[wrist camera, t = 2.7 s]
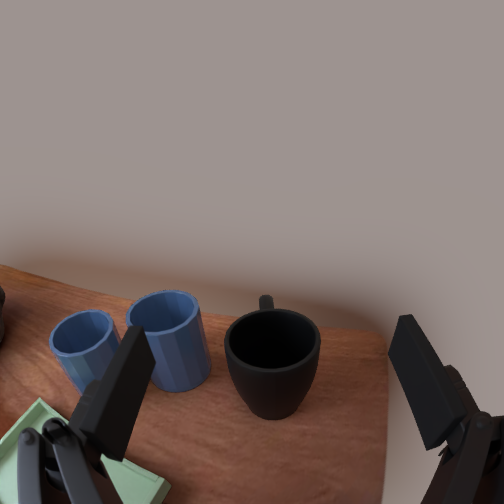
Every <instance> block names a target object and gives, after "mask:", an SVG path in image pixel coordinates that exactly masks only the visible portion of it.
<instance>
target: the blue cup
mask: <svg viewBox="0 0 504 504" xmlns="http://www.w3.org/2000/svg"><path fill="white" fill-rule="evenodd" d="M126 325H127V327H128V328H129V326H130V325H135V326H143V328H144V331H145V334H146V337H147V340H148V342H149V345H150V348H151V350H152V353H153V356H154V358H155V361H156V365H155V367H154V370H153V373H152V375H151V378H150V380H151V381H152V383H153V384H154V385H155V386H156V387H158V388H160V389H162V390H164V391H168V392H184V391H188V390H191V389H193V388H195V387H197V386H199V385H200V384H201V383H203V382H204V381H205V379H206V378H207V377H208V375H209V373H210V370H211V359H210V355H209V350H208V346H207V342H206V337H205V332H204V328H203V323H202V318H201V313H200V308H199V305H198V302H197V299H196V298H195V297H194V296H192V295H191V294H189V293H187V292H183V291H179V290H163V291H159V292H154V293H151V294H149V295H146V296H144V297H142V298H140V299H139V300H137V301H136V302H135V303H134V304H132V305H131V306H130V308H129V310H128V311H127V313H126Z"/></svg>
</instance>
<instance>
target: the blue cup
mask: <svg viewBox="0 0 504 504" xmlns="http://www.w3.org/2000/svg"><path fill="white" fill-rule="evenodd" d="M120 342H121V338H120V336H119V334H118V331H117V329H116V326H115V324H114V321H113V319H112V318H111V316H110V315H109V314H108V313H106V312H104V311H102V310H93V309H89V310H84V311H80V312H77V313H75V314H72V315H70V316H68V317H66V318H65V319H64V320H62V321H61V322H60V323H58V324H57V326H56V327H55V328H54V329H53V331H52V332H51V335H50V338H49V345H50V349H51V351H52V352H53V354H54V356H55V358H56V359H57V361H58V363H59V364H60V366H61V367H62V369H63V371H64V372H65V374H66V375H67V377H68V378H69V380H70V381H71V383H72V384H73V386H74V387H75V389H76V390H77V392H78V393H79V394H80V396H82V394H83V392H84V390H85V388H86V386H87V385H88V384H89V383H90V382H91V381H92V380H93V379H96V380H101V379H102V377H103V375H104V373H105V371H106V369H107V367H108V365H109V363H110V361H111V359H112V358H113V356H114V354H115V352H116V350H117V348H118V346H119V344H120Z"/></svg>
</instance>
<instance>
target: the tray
mask: <svg viewBox="0 0 504 504" xmlns="http://www.w3.org/2000/svg"><path fill="white" fill-rule="evenodd" d="M53 417H58V418H61V419H62V420H64V421H65V423H66V424H68V422H69V421H67V420H66V419H65V418H63V417H62V416H61V415H60V414H58V413H57V412H56V411H55V410H53V409H52V408H51V407H50V406H49V405H47V404H46V403H45V402H44V401H43V400H42V399H41V398H38V399H37V400H36V402H35V403H34V404H33V405H32V406H31V407H30V408H29V409H28V410H27V411H26V412H25V413H24V414H23V416H22V417H21V418H20V419H19V420H18V421H17V422H16V423H15V424H14V425H13V427H12V428H11V429H10V430H9V431H8V432H7V433H6V434H5V435H4V437H3V438H2V439H1V440H0V504H18V489H17V450H18V437H19V434H20V433H21V431H22V430H23V429H25V428H28V427H31V428H34V429H35V430H37V431H38V432H39V433H40V434H42V426H43V424H44V423H45V422H46V420H48V419H50V418H53ZM100 459H101V460H102V461H103V463H104V466H105V468H106V470H107V472H108V474H109V476H110V478H111V480H112V482H113V484H114V486H115V488H116V490H117V492H118V494H119V496H120V498H121V500H122V501H123V503H124V504H161V503H162V501H163V500H164V498H165V496H166V495H167V493H168V491H169V490H170V488H171V486H172V485H171V484H169V483H168V482H167V481H166V480H165V479H164V478H162V477H159V476H158V475H155V474H153V473H151V472H149V471H147V470H145V469H143V468H141V467H140V466H138V465H136V464H134V463H132V462H130V461H128V460H127V459H125V458H123V462H118V461H114V460H111V459H108V458H107V457H105V456H104V455H103V454H102V455H101V458H100Z"/></svg>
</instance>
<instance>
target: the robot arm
mask: <svg viewBox="0 0 504 504" xmlns="http://www.w3.org/2000/svg"><path fill="white" fill-rule="evenodd" d="M388 355H389V358H390V360H391V362H392V364H393V366H394V369H395V371H396V373H397V376H398V378H399V381H400V383H401V385H402V388H403V390H404V392H405V395H406V397H407V400H408V402H409V405H410V407H411V410H412V413H413V415H414V418H415V420H416V423H417V426H418V428H419V431H420V434H421V437H422V440H423V442H424V445H425V448H426V450H430V449H433V448H436V447H438V446H440V445H441V444H442V443H443V442H444V441H445V440H446V441H447V444H448V445H447V446H446V447H445V448H444V449H443V450H442V451H441V452H440V453H439V455H438V456H441V455H442V454H443V455H442V458H441V461H440V463H439V465H438V468H437V470H436V472H435V475H434V477H433V479H432V481H431V484H430V486H429V488H428V490H427V492H426V494H425V496H424V498H423V500H422V502H421V504H504V416H496V417H491V416H490V414H488V413H486V412H483V411H480V410H479V408H478V406H477V405H476V403H475V401H474V399H473V397H472V395H471V393H470V392H469V390H468V388H467V387H466V384H465V382H464V381H463V380H462V377H461V375H460V374H459V372H458V371H457V370H456V369H455V368H454V367H452V366H451V365H447V366H443V364H442V362H441V361H440V359H439V357H438V356H437V354H436V352H435V350H434V349H433V347H432V345H431V344H430V342H429V341H428V339H427V337H426V336H425V334H424V333H423V331H422V329H421V328H420V326H419V325H418V323H417V321H416V320H415V319H414V317H413V315H412V314H409V315H402V316H399V319H398V323H397V326H396V330H395V333H394V336H393V339H392V342H391V346H390V349H389V352H388ZM155 365H156V361H155V358H154V356H153V353H152V350H151V348H150V345H149V342H148V340H147V337H146V334H145V331H144V328H143V326H135V325H130V326H129V328H128V330H127V331H126V333H125V335H124V337H123V339H122V341H121V342H120V344H119V346H118V348H117V350H116V352H115V354H114V356H113V358H112V359H111V361H110V363H109V365H108V367H107V369H106V371H105V373H104V375H103V377H102V379H101V380H96V379H93V380H92V381H91V382H90V383H89V384H88V385H87V386H86V388H85V390H84V392H83V394H82V396H81V398H80V400H79V403H78V404H77V406H76V408H75V410H74V412H73V414H72V416H71V418H70V420H69V422H68V424H66V423H65V421H64V420H62V419H61V418H58V417H53V418H50V419H48V420H46V422H45V423H44V424H43V426H42V434H40V433H39V432H38V431H37V430H35V429H34V428H31V427H28V428H25V429H23V430H22V431H21V433H20V434H19V437H18V450H17V489H18V504H124V503H123V501H122V500H121V498H120V496H119V494H118V492H117V490H116V488H115V486H114V484H113V482H112V480H111V478H110V476H109V474H108V472H107V470H106V468H105V466H104V463H103V461H102V460H101V459H100V458H101V455H102V454H103V455H104V456H105V457H107V458H108V459H111V460H114V461H118V462H123V458H124V455H125V452H126V449H127V446H128V443H129V439H130V436H131V433H132V430H133V427H134V424H135V421H136V418H137V415H138V412H139V409H140V406H141V404H142V401H143V398H144V395H145V392H146V389H147V386H148V384H149V381H150V378H151V375H152V373H153V370H154V367H155Z"/></svg>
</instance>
